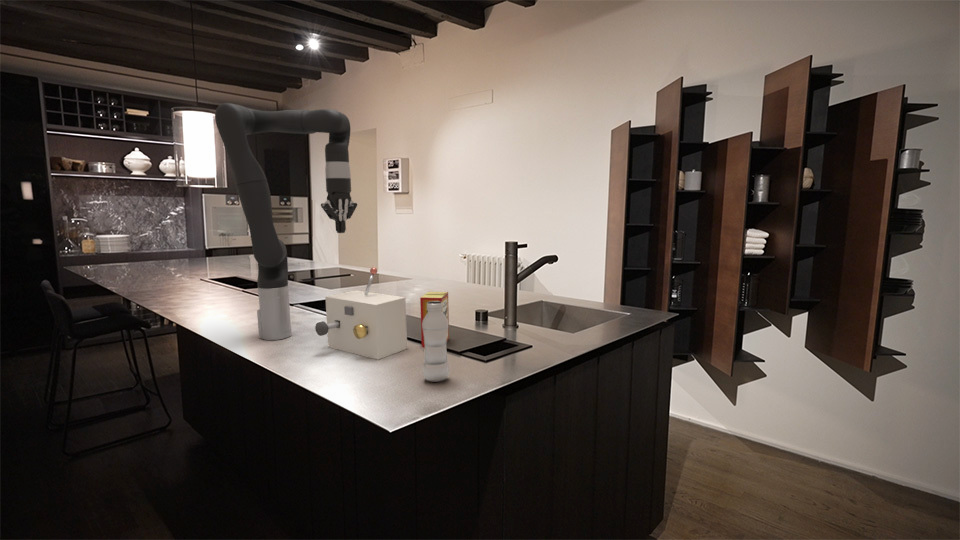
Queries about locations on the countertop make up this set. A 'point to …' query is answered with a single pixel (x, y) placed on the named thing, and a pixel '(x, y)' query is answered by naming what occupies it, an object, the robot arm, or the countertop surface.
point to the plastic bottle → (435, 343)
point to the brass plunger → (360, 331)
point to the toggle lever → (370, 279)
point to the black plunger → (325, 327)
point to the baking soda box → (434, 297)
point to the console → (367, 323)
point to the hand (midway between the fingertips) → (341, 232)
